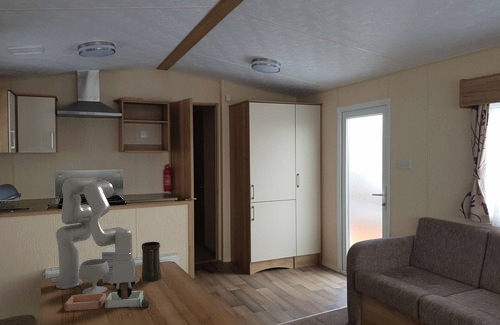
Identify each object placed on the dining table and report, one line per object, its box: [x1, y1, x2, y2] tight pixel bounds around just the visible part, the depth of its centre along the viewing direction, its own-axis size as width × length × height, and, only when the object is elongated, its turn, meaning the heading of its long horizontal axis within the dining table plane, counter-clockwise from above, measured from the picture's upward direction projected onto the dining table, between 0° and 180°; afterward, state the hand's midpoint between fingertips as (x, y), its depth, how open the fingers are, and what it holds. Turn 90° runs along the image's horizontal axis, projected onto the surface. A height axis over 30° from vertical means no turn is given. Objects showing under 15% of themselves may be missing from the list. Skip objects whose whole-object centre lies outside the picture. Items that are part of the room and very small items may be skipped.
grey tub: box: [104, 290, 145, 309], centre depth 178 cm, size 15×11×4 cm
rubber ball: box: [141, 298, 151, 308], centre depth 174 cm, size 4×4×4 cm
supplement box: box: [101, 247, 115, 284], centre depth 212 cm, size 10×9×17 cm
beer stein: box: [141, 241, 162, 283], centre depth 211 cm, size 15×11×20 cm
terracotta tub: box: [64, 292, 107, 312], centre depth 176 cm, size 15×11×4 cm
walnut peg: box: [120, 282, 129, 300], centre depth 178 cm, size 4×4×8 cm
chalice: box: [79, 258, 109, 294], centre depth 194 cm, size 14×14×15 cm
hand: (124, 295), depth 178 cm, fingers closed on walnut peg, 3 cm apart
